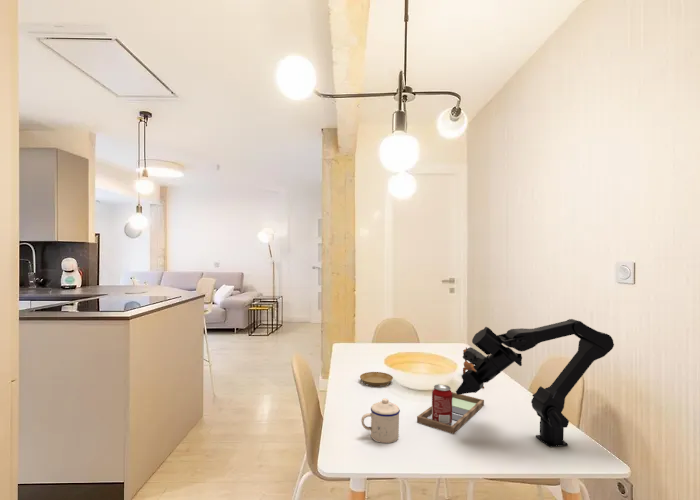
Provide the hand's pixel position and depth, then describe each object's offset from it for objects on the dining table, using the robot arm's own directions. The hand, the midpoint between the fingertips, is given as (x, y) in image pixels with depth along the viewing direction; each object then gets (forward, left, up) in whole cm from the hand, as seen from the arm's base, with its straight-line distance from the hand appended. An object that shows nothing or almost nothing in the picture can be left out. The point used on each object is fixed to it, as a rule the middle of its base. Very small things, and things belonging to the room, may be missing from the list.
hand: (461, 389), depth 124 cm
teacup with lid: (-1, +28, -13) cm, 31 cm away
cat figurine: (+42, -28, -13) cm, 52 cm away
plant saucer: (+48, +16, -13) cm, 52 cm away
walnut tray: (+12, -3, -13) cm, 18 cm away
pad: (+18, -10, -13) cm, 24 cm away
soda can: (+5, +5, -13) cm, 15 cm away
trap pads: (+12, -3, -13) cm, 18 cm away
